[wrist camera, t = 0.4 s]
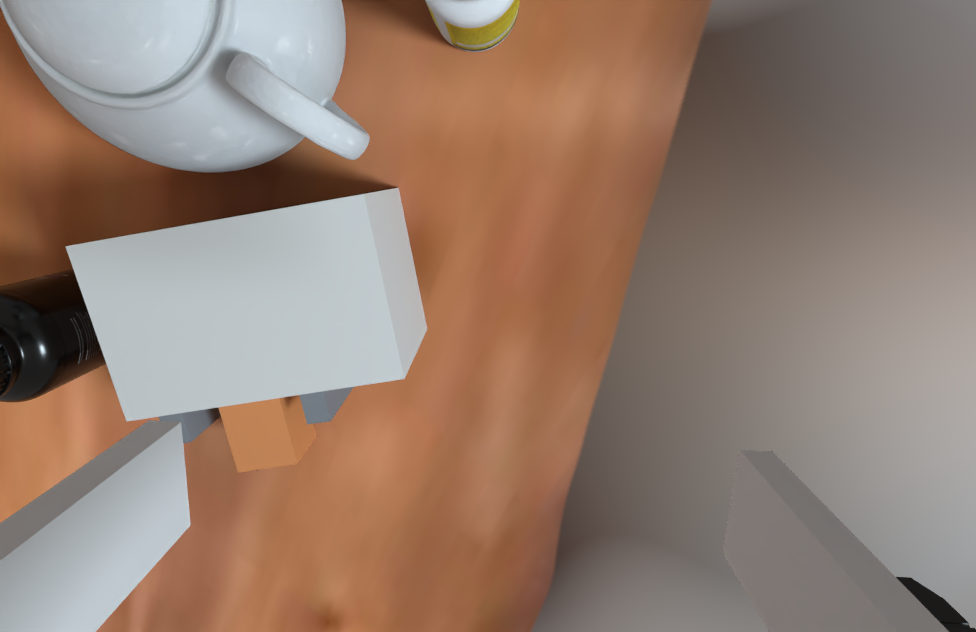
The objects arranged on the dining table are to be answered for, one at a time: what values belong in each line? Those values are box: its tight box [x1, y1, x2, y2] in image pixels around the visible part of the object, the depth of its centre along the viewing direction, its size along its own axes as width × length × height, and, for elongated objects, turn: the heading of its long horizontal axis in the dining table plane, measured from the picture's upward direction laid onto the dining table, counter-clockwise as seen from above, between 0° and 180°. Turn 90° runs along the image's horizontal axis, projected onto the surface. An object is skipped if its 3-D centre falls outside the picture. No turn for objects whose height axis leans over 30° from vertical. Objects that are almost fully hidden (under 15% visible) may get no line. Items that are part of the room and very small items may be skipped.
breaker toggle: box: [218, 395, 316, 473], centre depth 38 cm, size 8×4×4 cm, turn 10°
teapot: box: [0, 0, 369, 172], centre depth 30 cm, size 19×18×14 cm
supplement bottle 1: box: [0, 269, 106, 402], centre depth 36 cm, size 7×7×12 cm
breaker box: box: [65, 188, 427, 443], centre depth 36 cm, size 13×16×10 cm
